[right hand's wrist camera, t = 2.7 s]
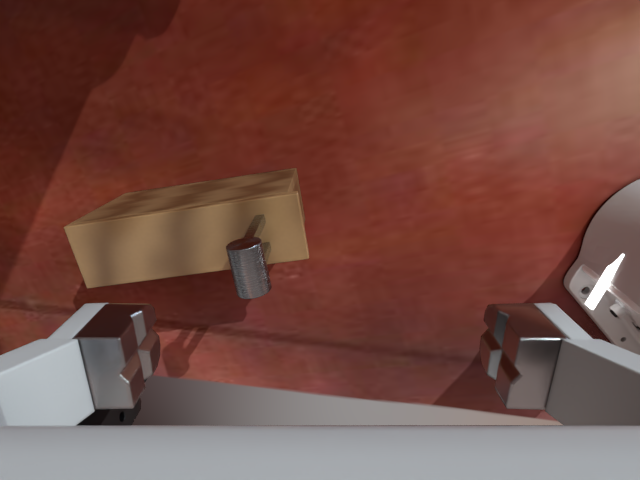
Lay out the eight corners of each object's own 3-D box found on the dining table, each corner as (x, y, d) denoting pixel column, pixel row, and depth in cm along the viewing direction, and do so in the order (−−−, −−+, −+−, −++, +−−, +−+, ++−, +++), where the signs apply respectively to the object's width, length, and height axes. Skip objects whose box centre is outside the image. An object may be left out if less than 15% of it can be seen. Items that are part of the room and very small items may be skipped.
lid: (298, 190, 31) (289, 225, 23) (309, 255, 33) (304, 307, 25) (69, 223, 32) (-12, 267, 24) (92, 284, 34) (23, 343, 26)
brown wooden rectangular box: (296, 167, 40) (288, 191, 31) (305, 219, 42) (299, 256, 33) (125, 193, 41) (69, 223, 32) (141, 242, 43) (92, 284, 34)
